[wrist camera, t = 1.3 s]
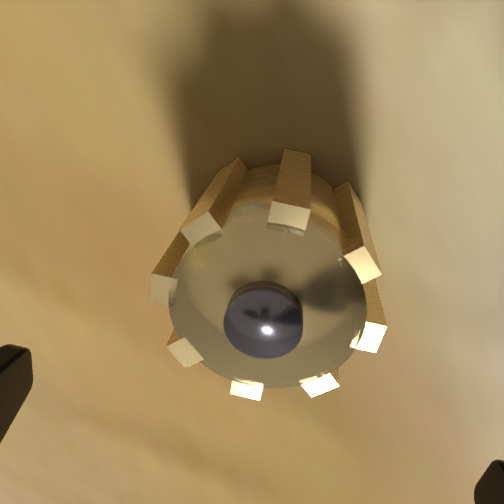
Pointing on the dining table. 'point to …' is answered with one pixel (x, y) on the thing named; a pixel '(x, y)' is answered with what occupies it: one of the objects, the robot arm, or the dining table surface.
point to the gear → (272, 279)
